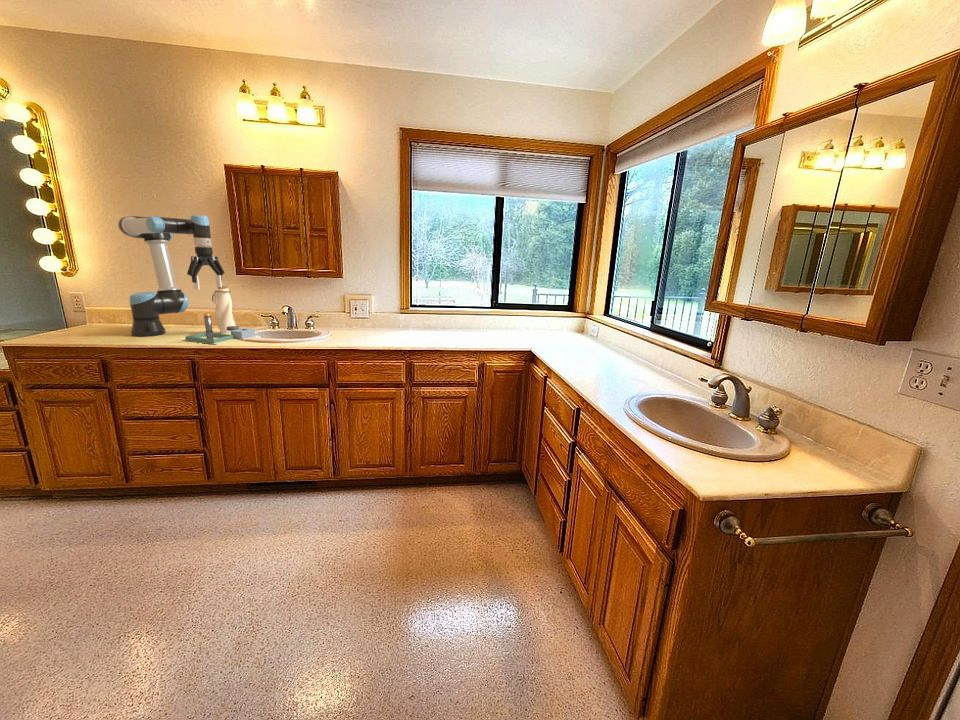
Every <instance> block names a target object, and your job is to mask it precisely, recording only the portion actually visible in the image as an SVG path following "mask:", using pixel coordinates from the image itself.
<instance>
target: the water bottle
mask: <svg viewBox="0 0 960 720" xmlns="http://www.w3.org/2000/svg"><path fill="white" fill-rule="evenodd" d="M216 288H217V290H214V291H213V294H212V296H211V302H214V305H215V309H214V311H215V312H214V314H215V316H214V317H215V321H216V325H217V327H218V329H219V332H220V333H219V334H228V335H229V334H231V331H228V330H227V327H228V326H237V325H236V322H235V320H234V317H233V316H234V315H233V302H232V297H231V295H230V292H231V290H230V289H229V288H228V285H222V287H216Z"/></svg>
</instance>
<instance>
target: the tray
mask: <svg viewBox="0 0 960 720" xmlns="http://www.w3.org/2000/svg"><path fill="white" fill-rule="evenodd" d="M204 337H206V338H204ZM213 338H214V339H207V335H206V331H204V332H200V333H197V334H195V333H194V334H192V335H191V334H190V335H187V336H185V337H184V339H185V341H189V342H197V343H196V344H199V343H202V344H201V345H209V346H217V345H218V344H217V343H222V342H225V341H230V340H234V339H235V338H234V337H233V335H231V334H229V333H228V334H223V333H218V332H213ZM189 342H188V343H189Z"/></svg>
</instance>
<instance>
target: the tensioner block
mask: <svg viewBox="0 0 960 720" xmlns="http://www.w3.org/2000/svg"><path fill="white" fill-rule="evenodd" d="M227 330H228V331H231V333H230V335H233V337H234V339H238V340H245V339H248V338H253V337H256V332H255V331H256V330H255V328H251V327H250V328H247V327H242V328H240V326H238V325H236V326H228V327H227Z"/></svg>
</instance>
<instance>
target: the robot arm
mask: <svg viewBox="0 0 960 720" xmlns="http://www.w3.org/2000/svg"><path fill="white" fill-rule="evenodd" d="M117 226H118V229H119V230H120V232H121V233H123V234H124V235H125V236H128V237H130V238H135V239H143V241H144V243H145V244H146V245H148V246H149V251H150V252H149V253H150V256H151V260H152V264H153V265H152V266H153V268H154V273H155V276H156V281H157V285H158V288H157V290H156V292H155V291H141V292H136V293H132V294H130V295H129V306H130V310H131V311H130V312H131V317H132V321H133V322H132V326H131V330H130V334H131V336H133V337H153V336H161V335H165V334H166V329H165V327H164V325H163V324H162V321H161V320H160V319H161V318H160V315H168V314H178V313H183V312H185V311H186V310H187V309H188V307H189V298H188V296H187V293H185V292H182V289H181V288H180V287H178V284H177V280H176V275H175V272H174V267H173V262H172V258H171V255H170V251H169V250H170V249H169V247H168V246H169V245H168V244H170V242H171V241H170V240H172V239H173V236H174V235H173V234H176V235H178V234H179V235H182V234H183V235H189V236H190V235H193V236H192V237H193V243H194V246H195V247H194V251H195V254H196V256H193V255H191V257H190V263H189V266H188V270H187V273H186V275H188V276H190V277H191V281H192V283H193V289H194V290H200V289H201V288H200V280H199V276H198V274H199V272H200V270H201V269H202V267H203V266H208V267H210V268H211V269H212V271H213V272H214V273H215V275H214V277H215V284H216V288H218V287H222V286H223V284H222V281H223V280H222V279H223V277H222V276H223V275H224V274H225V273H226V272H225V271H224V269H223V267H222V265H221V262H220V261H219V258H218V256H215V255H213V254H214V252H213V247H212V246H213V244H212V237H211V236H212V235H211V227H210V226H211V225H210V220H209V217H208V216H207V215H203V214H202V215H201V214H200V215H199V214H192V215H190V219H189V218H180V217H179V218H178V217H177V218H175V217H164V216H154V215H153V216H151V215H149V216H138V215H137V216H134V215H128V216H124V217H122V218H120V219H119V221H118V223H117Z"/></svg>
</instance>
